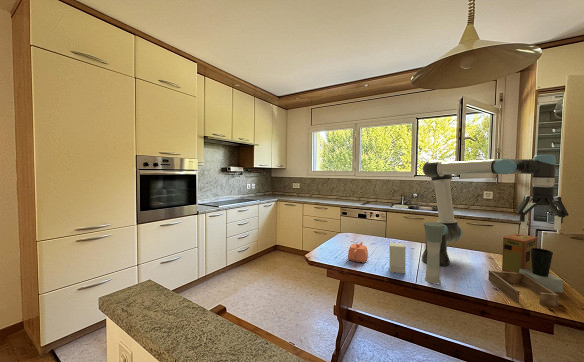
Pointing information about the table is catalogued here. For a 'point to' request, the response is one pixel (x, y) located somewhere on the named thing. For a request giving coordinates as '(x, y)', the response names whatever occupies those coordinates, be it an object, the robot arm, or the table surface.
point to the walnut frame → (503, 277)
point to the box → (517, 252)
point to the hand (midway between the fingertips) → (540, 229)
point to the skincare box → (397, 257)
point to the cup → (541, 261)
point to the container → (433, 250)
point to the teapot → (358, 253)
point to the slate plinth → (545, 280)
